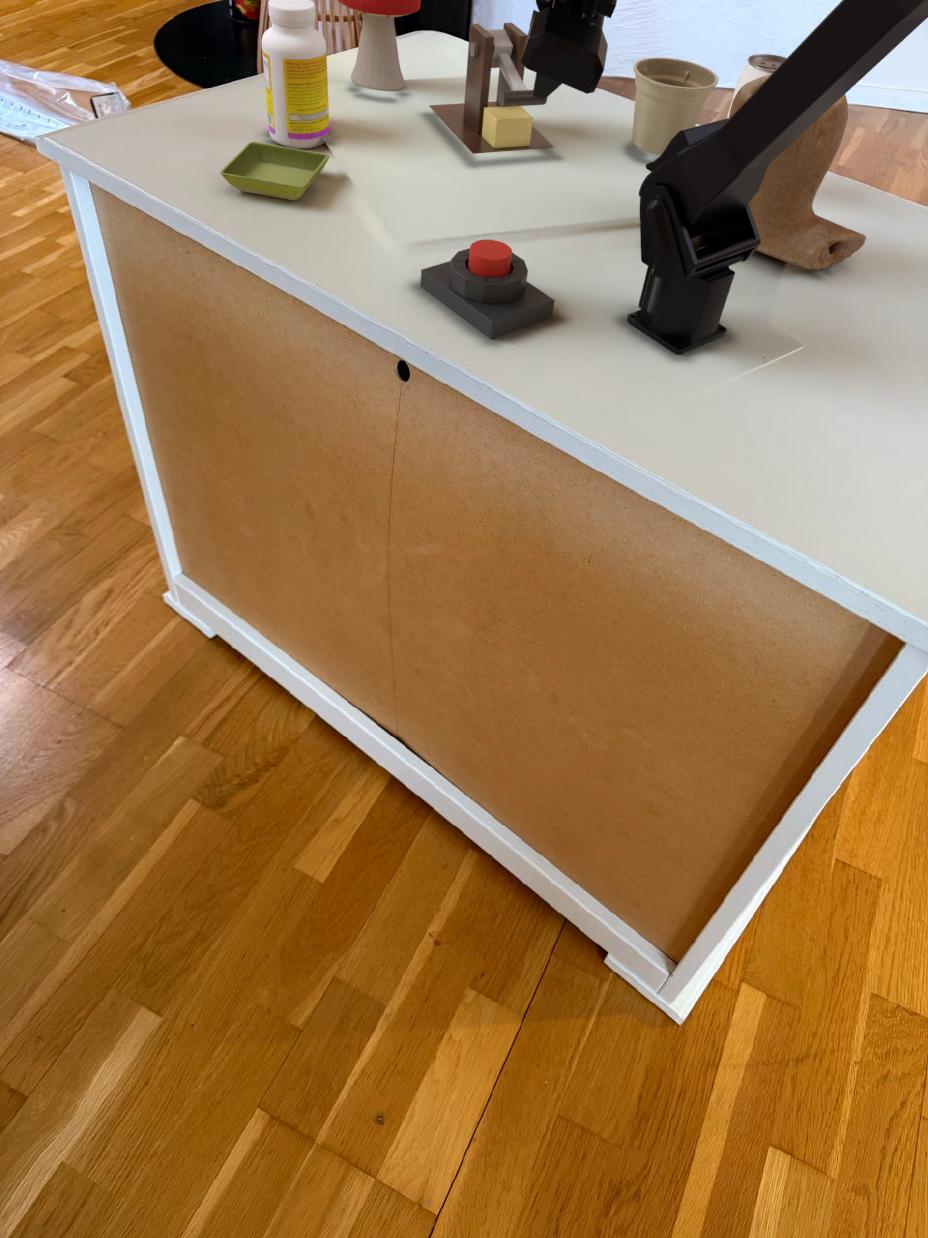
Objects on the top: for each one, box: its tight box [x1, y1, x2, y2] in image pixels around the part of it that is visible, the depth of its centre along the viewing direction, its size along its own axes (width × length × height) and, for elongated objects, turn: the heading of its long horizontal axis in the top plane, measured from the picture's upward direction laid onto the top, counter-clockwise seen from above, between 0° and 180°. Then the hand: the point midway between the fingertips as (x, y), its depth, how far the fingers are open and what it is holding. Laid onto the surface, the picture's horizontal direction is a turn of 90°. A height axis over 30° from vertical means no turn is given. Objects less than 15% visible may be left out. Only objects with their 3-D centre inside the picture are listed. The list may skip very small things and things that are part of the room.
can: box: [726, 53, 788, 119], centre depth 96 cm, size 6×6×12 cm
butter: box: [482, 106, 534, 149], centre depth 99 cm, size 4×4×3 cm
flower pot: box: [631, 56, 719, 156], centre depth 101 cm, size 9×9×9 cm
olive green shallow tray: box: [219, 141, 331, 201], centre depth 90 cm, size 9×9×2 cm
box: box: [420, 247, 556, 340], centre depth 77 cm, size 10×7×4 cm
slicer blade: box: [485, 28, 548, 107], centre depth 96 cm, size 10×5×2 cm, turn 22°
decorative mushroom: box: [337, 0, 422, 92], centre depth 104 cm, size 10×9×15 cm
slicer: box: [428, 22, 555, 155], centre depth 100 cm, size 14×10×11 cm
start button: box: [468, 239, 513, 278], centre depth 76 cm, size 4×4×2 cm
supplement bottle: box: [261, 0, 330, 150], centre depth 94 cm, size 7×7×13 cm
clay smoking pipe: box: [729, 75, 867, 271], centre depth 85 cm, size 15×12×15 cm
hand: (538, 96), depth 79 cm, fingers closed
